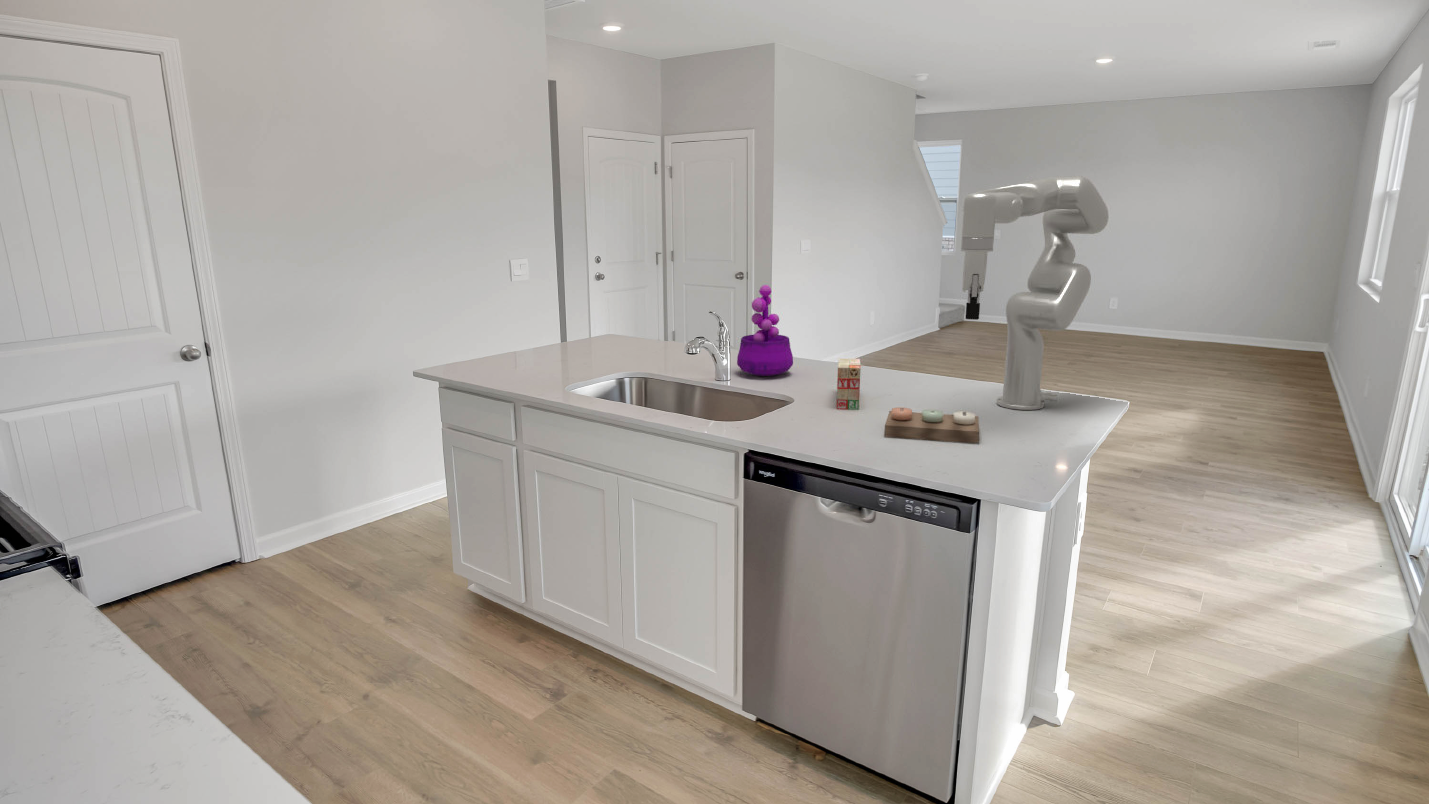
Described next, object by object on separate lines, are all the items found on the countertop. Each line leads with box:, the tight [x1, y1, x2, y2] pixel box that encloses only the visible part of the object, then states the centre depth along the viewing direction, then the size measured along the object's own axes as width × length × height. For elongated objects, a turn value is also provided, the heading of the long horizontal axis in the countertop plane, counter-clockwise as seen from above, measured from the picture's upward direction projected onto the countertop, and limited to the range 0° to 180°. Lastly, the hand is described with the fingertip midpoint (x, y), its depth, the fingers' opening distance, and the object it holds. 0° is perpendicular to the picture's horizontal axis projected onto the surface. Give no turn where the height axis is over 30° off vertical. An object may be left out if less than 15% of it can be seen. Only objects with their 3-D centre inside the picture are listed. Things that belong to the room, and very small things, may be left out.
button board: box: [883, 410, 980, 444], centre depth 195 cm, size 22×14×3 cm, turn 73°
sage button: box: [921, 408, 944, 422], centre depth 194 cm, size 5×5×2 cm
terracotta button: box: [891, 406, 913, 420], centre depth 196 cm, size 5×5×2 cm
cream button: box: [953, 410, 976, 425], centre depth 192 cm, size 5×5×2 cm
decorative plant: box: [736, 284, 794, 377], centre depth 259 cm, size 19×18×30 cm
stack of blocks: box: [835, 358, 862, 411], centre depth 226 cm, size 21×6×12 cm, turn 170°
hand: (972, 318), depth 197 cm, fingers closed
